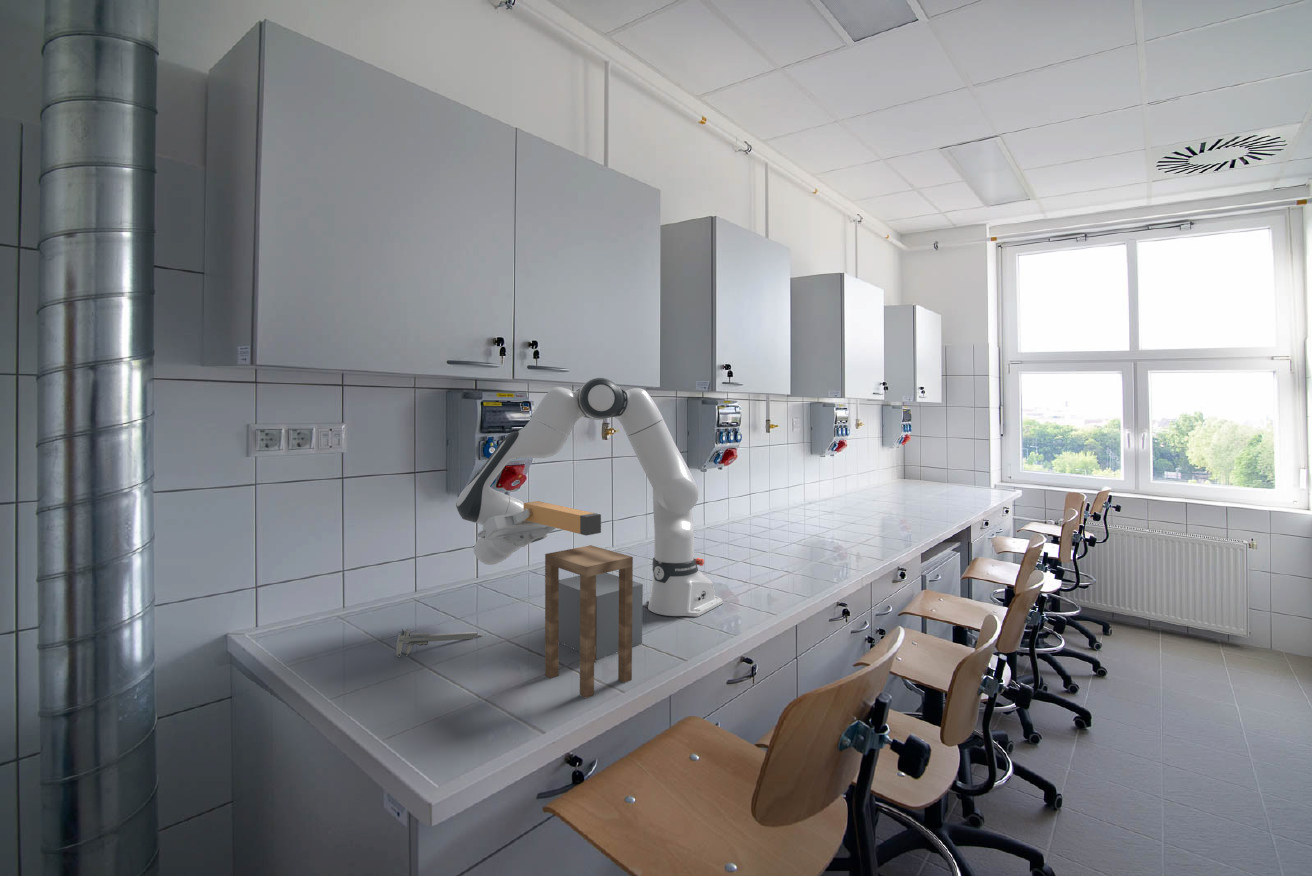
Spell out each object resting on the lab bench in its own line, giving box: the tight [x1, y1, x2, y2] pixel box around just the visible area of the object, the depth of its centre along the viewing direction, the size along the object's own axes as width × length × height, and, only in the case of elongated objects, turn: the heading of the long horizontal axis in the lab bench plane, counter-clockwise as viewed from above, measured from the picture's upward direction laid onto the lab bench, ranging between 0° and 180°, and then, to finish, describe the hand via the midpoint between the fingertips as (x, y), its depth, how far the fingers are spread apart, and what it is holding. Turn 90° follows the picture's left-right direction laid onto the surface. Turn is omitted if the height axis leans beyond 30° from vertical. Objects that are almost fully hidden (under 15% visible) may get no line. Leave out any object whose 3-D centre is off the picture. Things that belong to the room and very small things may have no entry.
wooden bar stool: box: [544, 544, 634, 699], centre depth 132 cm, size 12×14×26 cm
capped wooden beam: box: [524, 500, 602, 537], centre depth 143 cm, size 4×24×4 cm, turn 44°
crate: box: [559, 572, 644, 661], centre depth 152 cm, size 14×16×14 cm
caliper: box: [395, 628, 483, 658], centre depth 149 cm, size 20×1×6 cm, turn 132°
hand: (539, 510), depth 149 cm, fingers closed on capped wooden beam, 4 cm apart
